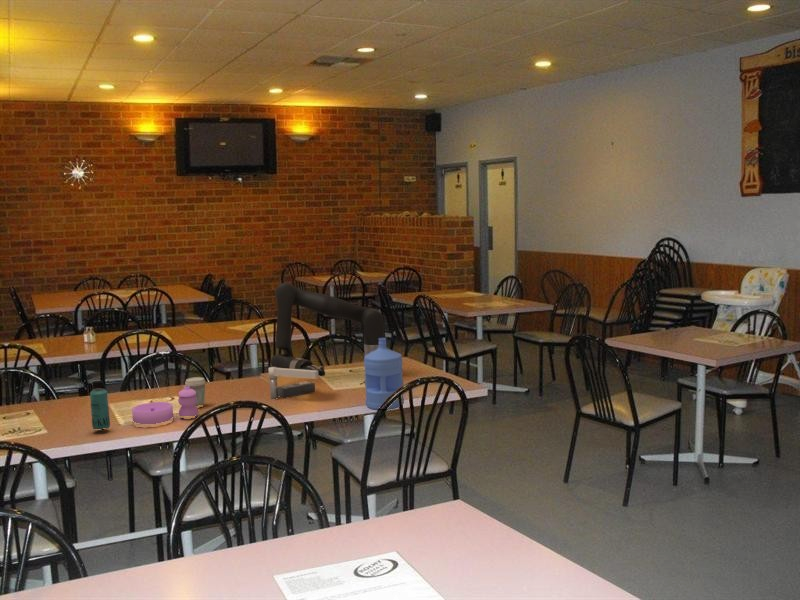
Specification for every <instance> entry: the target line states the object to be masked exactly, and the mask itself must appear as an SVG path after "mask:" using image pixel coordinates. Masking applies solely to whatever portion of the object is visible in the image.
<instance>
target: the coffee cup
mask: <svg viewBox="0 0 800 600" xmlns="http://www.w3.org/2000/svg"><path fill="white" fill-rule="evenodd" d="M206 383H207V382H206V380H205V378H204V377H201V376H198V377H197V376H196V377H194V376H193V377H189V378H186V379H185V382H184V386H190V389H193V390H195V392H196V394H195V396H196V397H197V402H196V403H195V404H194V405H195V406H198V405H203V404H204V405H205V394H206V392H205V391H206Z"/></svg>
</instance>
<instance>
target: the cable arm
mask: <svg viewBox="0 0 800 600" xmlns="http://www.w3.org/2000/svg"><path fill="white" fill-rule="evenodd" d="M278 377H287V378H297V379H310V380H312V379H313V380H316V379H319V378H320V377H319V375H318V371H316V370H302V369H287V368H277V367H272V366H271V367H270V366H269V367H268V379H269V380H270V379H275V378H277V379H278Z"/></svg>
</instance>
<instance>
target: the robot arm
mask: <svg viewBox="0 0 800 600" xmlns="http://www.w3.org/2000/svg"><path fill="white" fill-rule="evenodd" d="M274 294H275V298H276V303H277V304H276V305H277V319H276V328H275V329H276V331H275V348H276V349H279V350H282V352H283V354H281V353H279V354H278V353H277V354H274V355H273V356H272V357H271V359H270V365H271V367H277V368H287V369H302V370H316V371H318V375H319V376H320V377H325V376H326V370H325V364H324V365H323V364H322V365H320V366H318V365H316V364H314V363H313V362H312V361H311V360H308V359H304V358H301V357H296V356H294V353H293V347H292V332H293V331H292V314H293V313H292V312H293V307H294V306H293V305H296V306H300V307H303V308H305V309H309V310H310V311H312V312H315V313H317V314H321V315H322V316H326V317H330V318H333V319H342V320H350V321H353V322H357V323H359V324H362V325H363V336H364V337H363V343H364V344H363V347H364V349H363V350H364V356H365V355H367V354H369V353H371V352H373V351H375V350H377V349H378V348H379V340H378V339H379V338H385V323H384V316H383V314H382V313H381V311H380V310H378V309H377V308H373V307H372V308H371V307H367V306H362V305H361V306H360V305H357V304H354V303H351V302H349V301H346V300H344V299H340V298H338V297H335V296H331V295H328V294H326V293H325V294H324V293H319V292H312V291H307V290H304V289H302V288H299V287H296V286H294V285H293V284H291V283H288V282H282V283H280V284H279V285H277V287H275V290H274Z"/></svg>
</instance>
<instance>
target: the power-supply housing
mask: <svg viewBox="0 0 800 600" xmlns="http://www.w3.org/2000/svg"><path fill="white" fill-rule="evenodd" d="M277 390H278V396H280V397H279V398H281V397H283V398H282V399H284V398H285V399H287V398H286V397H289V398H294V397H298V396H302V395H306V394H312V393H315V392H316V383H315V382H313V381H309V380H304V381H300V382H295V383H291V384H284V385H281V386H280V385H279V386H277ZM293 396H294V397H293Z"/></svg>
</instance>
